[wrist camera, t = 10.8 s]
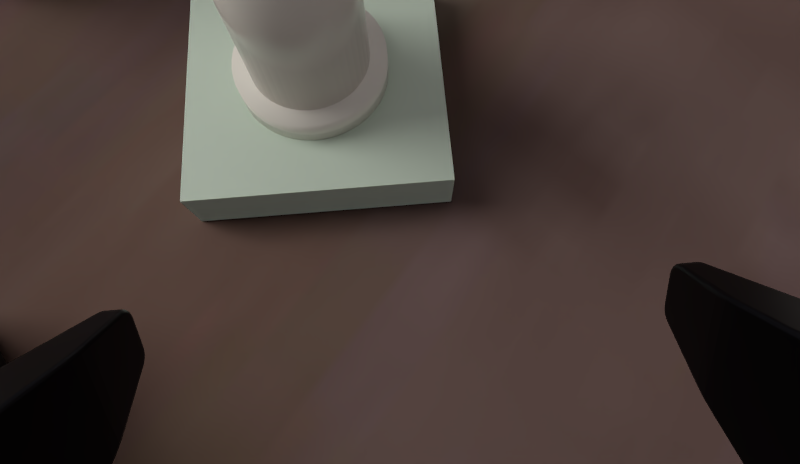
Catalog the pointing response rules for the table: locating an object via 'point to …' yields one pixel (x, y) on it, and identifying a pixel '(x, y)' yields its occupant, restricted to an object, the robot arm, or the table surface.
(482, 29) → the table surface
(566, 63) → the table surface
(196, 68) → the block
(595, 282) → the table surface
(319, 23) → the white rounded piece
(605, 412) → the table surface
